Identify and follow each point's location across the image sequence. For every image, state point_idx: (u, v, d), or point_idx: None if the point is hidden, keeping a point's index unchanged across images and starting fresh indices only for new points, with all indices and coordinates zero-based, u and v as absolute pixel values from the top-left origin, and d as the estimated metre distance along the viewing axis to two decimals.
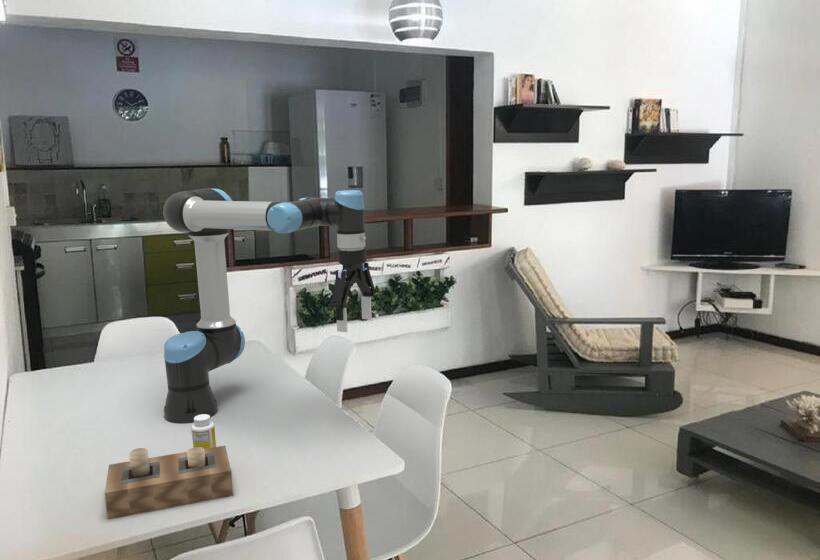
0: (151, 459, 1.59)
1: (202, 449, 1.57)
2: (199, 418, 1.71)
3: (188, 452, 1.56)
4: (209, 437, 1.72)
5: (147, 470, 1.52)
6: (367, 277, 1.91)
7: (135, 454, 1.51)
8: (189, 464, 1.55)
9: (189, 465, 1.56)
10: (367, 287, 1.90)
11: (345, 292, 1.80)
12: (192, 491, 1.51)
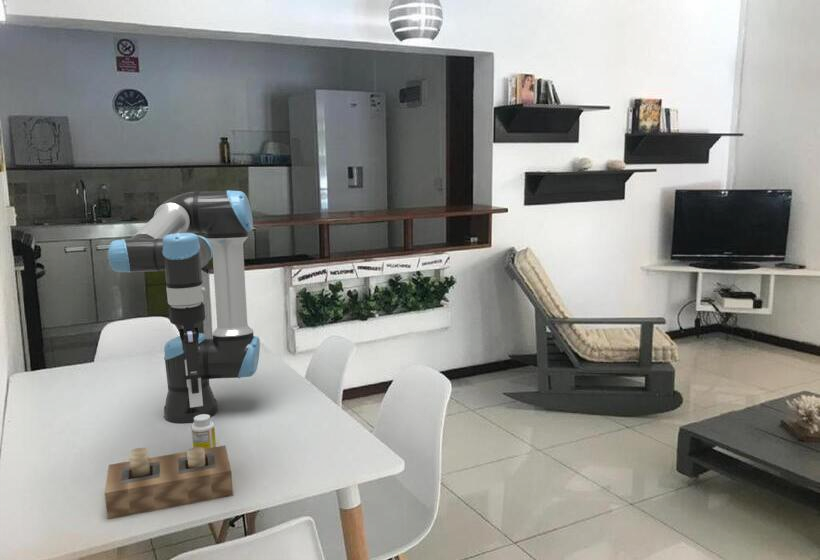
0: (151, 459, 1.59)
1: (202, 449, 1.57)
2: (199, 418, 1.71)
3: (188, 452, 1.56)
4: (209, 437, 1.72)
5: (147, 470, 1.52)
6: None
7: (135, 454, 1.51)
8: (189, 464, 1.55)
9: (189, 465, 1.56)
10: None
11: None
12: (192, 491, 1.51)
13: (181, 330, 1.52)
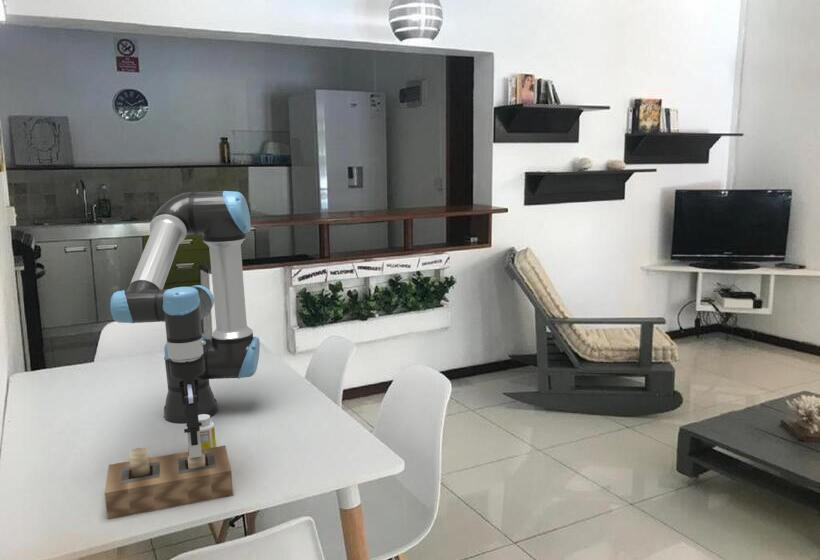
0: (151, 459, 1.59)
1: (203, 455, 1.57)
2: (199, 418, 1.71)
3: (189, 458, 1.56)
4: (209, 437, 1.72)
5: (147, 470, 1.52)
6: None
7: (135, 454, 1.51)
8: None
9: None
10: None
11: None
12: (192, 491, 1.51)
13: (181, 381, 1.54)
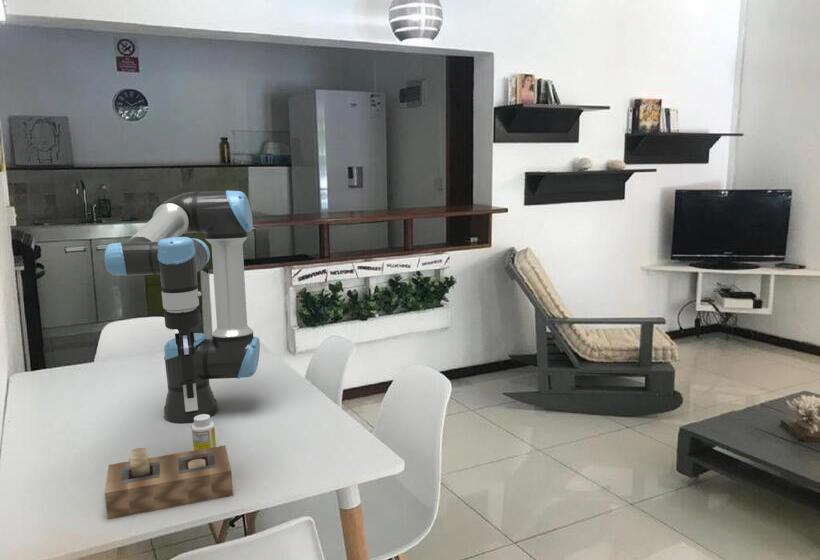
0: (151, 459, 1.59)
1: (203, 461, 1.57)
2: (199, 418, 1.71)
3: (189, 464, 1.56)
4: (209, 437, 1.72)
5: (147, 470, 1.52)
6: None
7: (135, 454, 1.51)
8: None
9: None
10: None
11: None
12: (192, 491, 1.51)
13: (176, 333, 1.51)
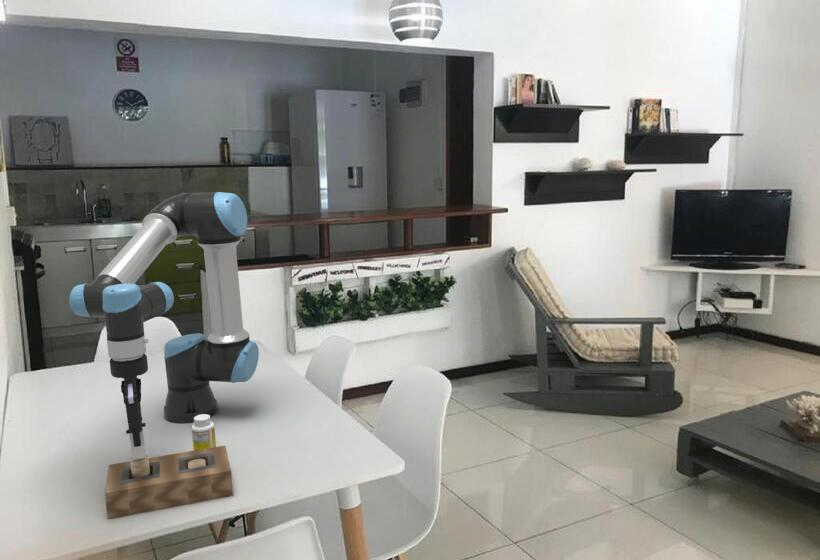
0: (151, 459, 1.59)
1: (203, 461, 1.57)
2: (199, 418, 1.71)
3: (189, 464, 1.56)
4: (209, 437, 1.72)
5: None
6: None
7: (136, 461, 1.51)
8: None
9: None
10: (140, 411, 1.52)
11: None
12: (192, 491, 1.51)
13: (123, 381, 1.49)
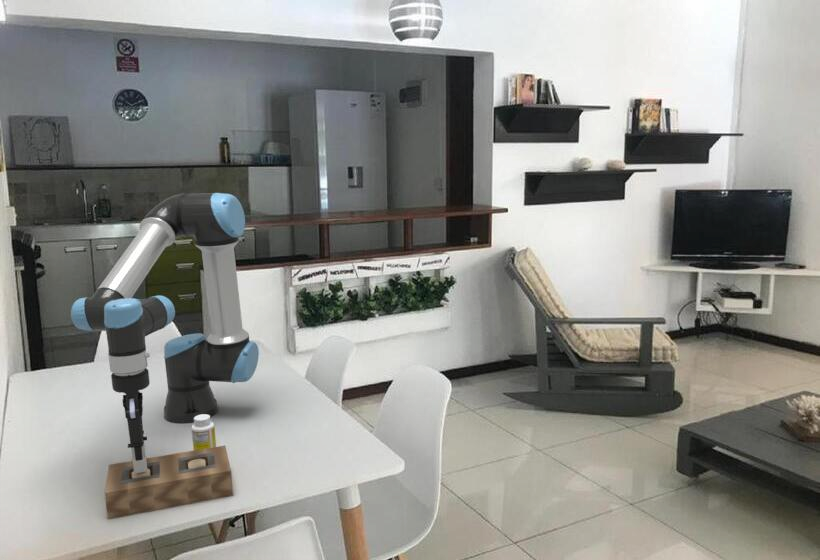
0: (151, 459, 1.59)
1: (203, 461, 1.57)
2: (199, 418, 1.71)
3: (189, 464, 1.56)
4: (209, 437, 1.72)
5: None
6: None
7: (137, 475, 1.52)
8: None
9: None
10: (141, 425, 1.52)
11: None
12: (192, 491, 1.51)
13: (125, 395, 1.50)
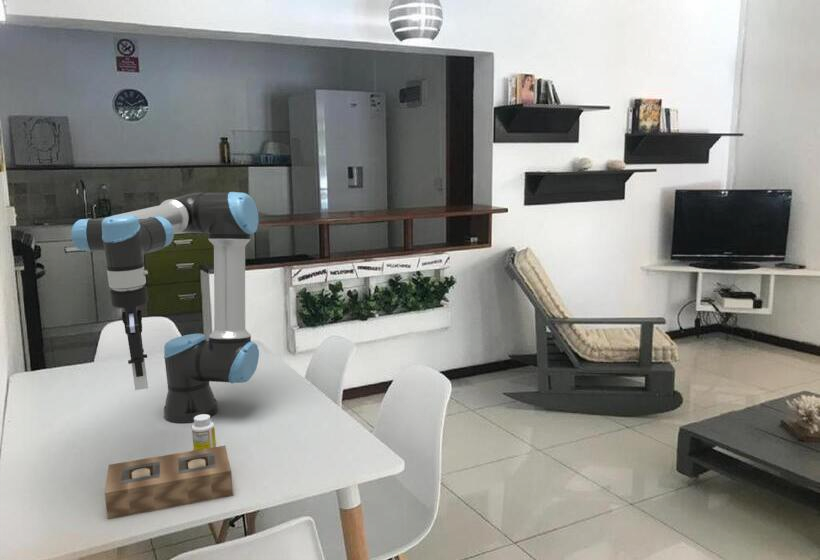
0: (151, 459, 1.59)
1: (203, 461, 1.57)
2: (199, 418, 1.71)
3: (189, 464, 1.56)
4: (209, 437, 1.72)
5: None
6: None
7: (137, 475, 1.52)
8: None
9: None
10: (141, 342, 1.54)
11: None
12: (192, 491, 1.51)
13: (124, 312, 1.51)
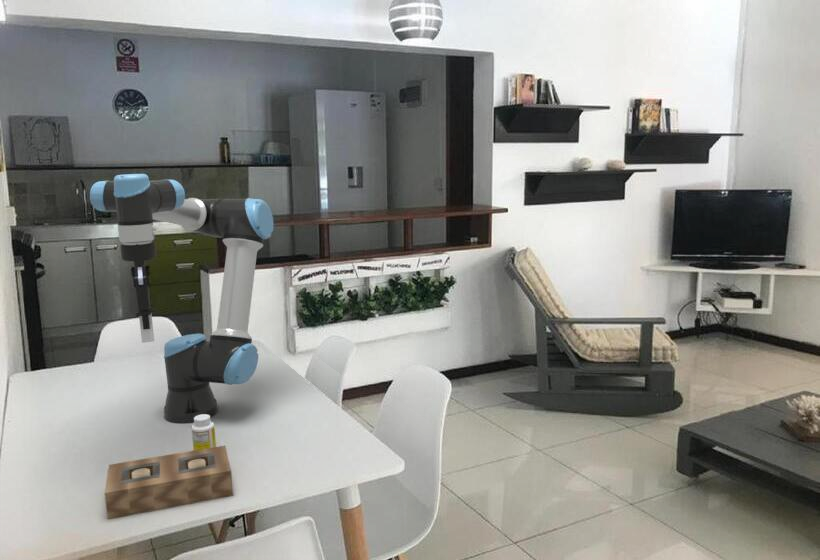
0: (151, 459, 1.59)
1: (203, 461, 1.57)
2: (199, 418, 1.71)
3: (189, 464, 1.56)
4: (209, 437, 1.72)
5: None
6: None
7: (137, 475, 1.52)
8: None
9: None
10: None
11: None
12: (192, 491, 1.51)
13: (133, 267, 1.58)
